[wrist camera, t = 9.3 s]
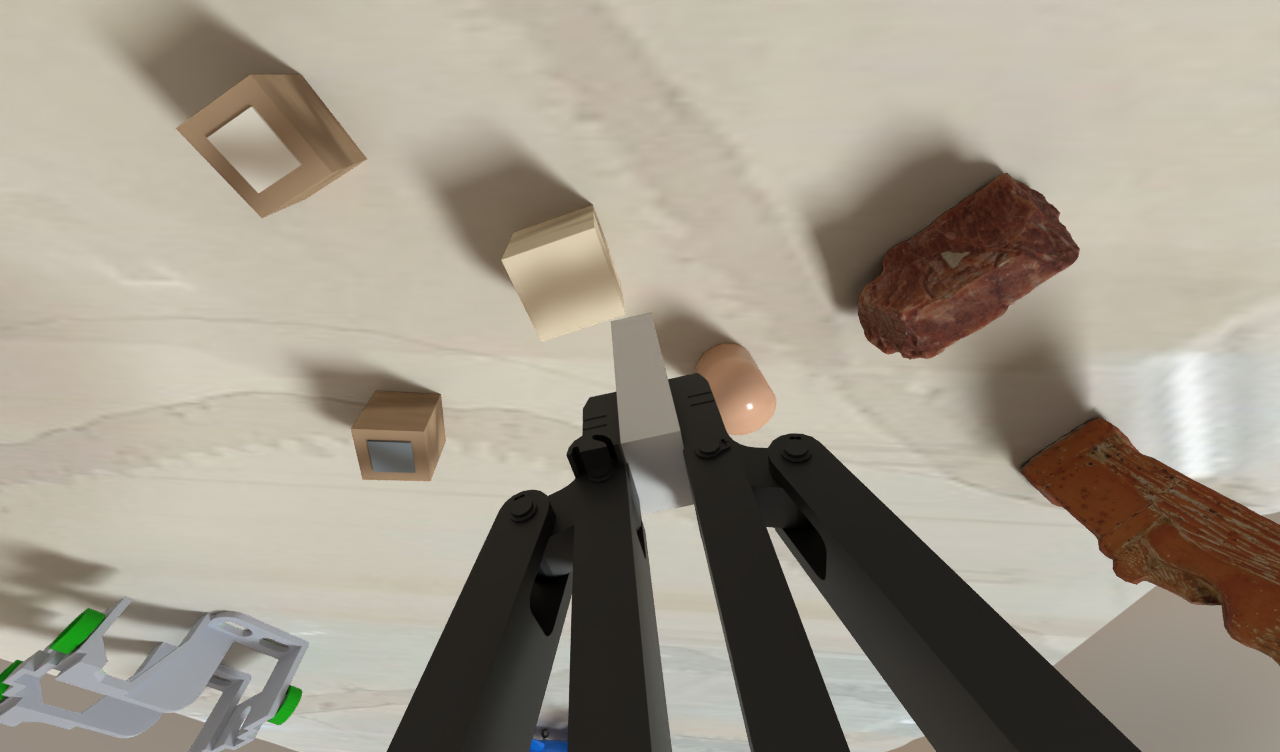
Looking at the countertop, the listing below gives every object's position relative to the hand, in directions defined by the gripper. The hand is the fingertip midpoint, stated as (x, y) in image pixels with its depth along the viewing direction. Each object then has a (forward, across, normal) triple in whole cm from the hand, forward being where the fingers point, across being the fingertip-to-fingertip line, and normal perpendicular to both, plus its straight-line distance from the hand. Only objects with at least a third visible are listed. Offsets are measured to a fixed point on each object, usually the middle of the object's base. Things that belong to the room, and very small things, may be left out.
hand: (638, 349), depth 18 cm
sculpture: (+25, +50, -44) cm, 71 cm away
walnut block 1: (+25, -21, +8) cm, 34 cm away
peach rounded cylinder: (+25, +7, -19) cm, 32 cm away
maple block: (+25, -5, -4) cm, 26 cm away
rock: (+26, +28, -12) cm, 39 cm away
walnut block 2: (+25, -25, -17) cm, 39 cm away
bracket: (+24, -67, -43) cm, 83 cm away
